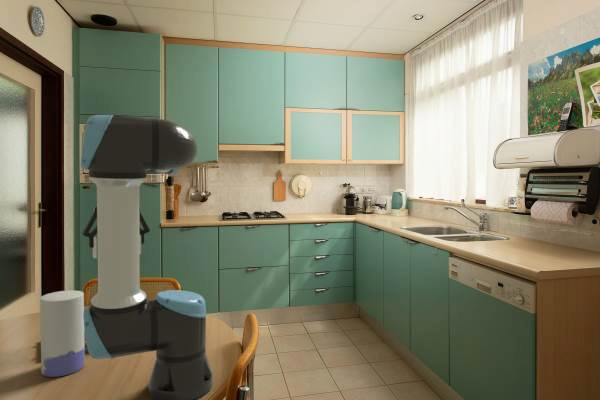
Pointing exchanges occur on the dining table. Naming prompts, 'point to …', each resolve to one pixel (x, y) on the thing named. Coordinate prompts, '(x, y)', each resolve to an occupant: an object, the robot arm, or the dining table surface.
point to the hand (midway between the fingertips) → (117, 255)
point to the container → (62, 333)
